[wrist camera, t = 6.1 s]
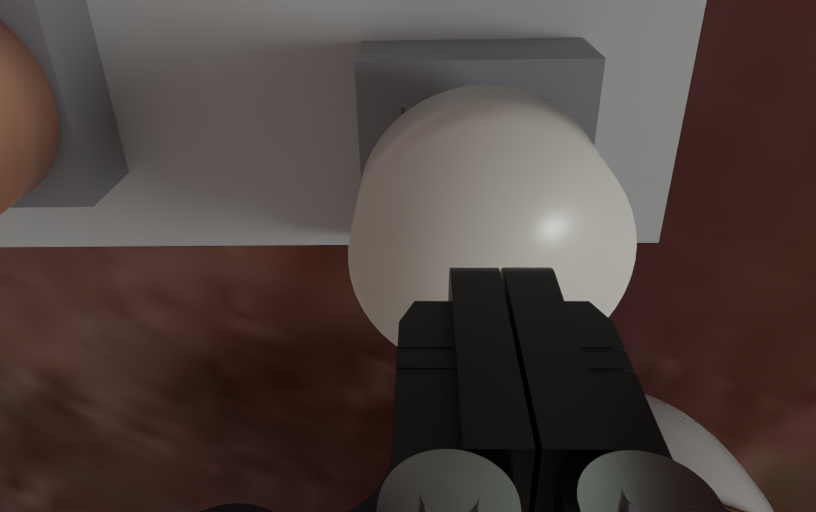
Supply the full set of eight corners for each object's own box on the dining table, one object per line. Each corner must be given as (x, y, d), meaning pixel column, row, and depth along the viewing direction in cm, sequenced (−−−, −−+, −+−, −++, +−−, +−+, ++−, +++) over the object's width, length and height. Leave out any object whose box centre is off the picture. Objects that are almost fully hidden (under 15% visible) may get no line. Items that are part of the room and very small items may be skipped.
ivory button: (361, 60, 14) (338, 125, 10) (593, 56, 14) (660, 120, 10) (371, 260, 17) (356, 373, 13) (568, 259, 17) (614, 373, 13)
